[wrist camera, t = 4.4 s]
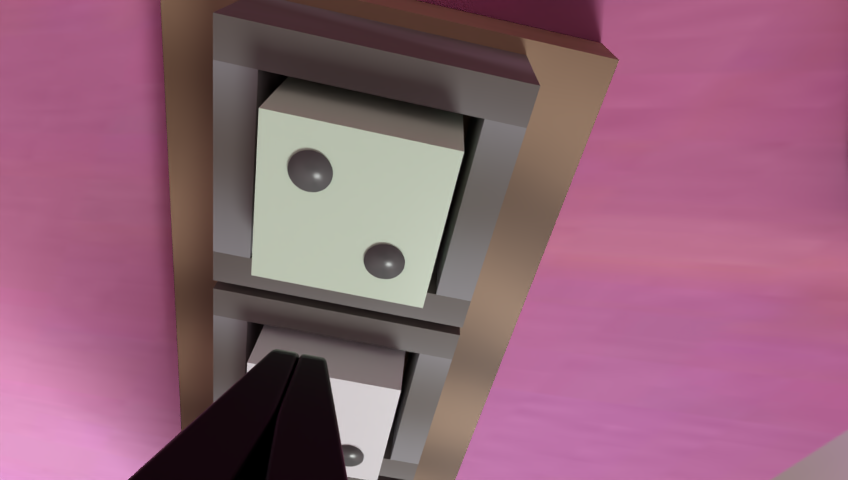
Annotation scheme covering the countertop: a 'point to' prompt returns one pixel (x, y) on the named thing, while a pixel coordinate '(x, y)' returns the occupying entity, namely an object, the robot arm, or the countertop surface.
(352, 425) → the tile three
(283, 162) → the tile two
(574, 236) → the countertop surface
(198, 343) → the panel
